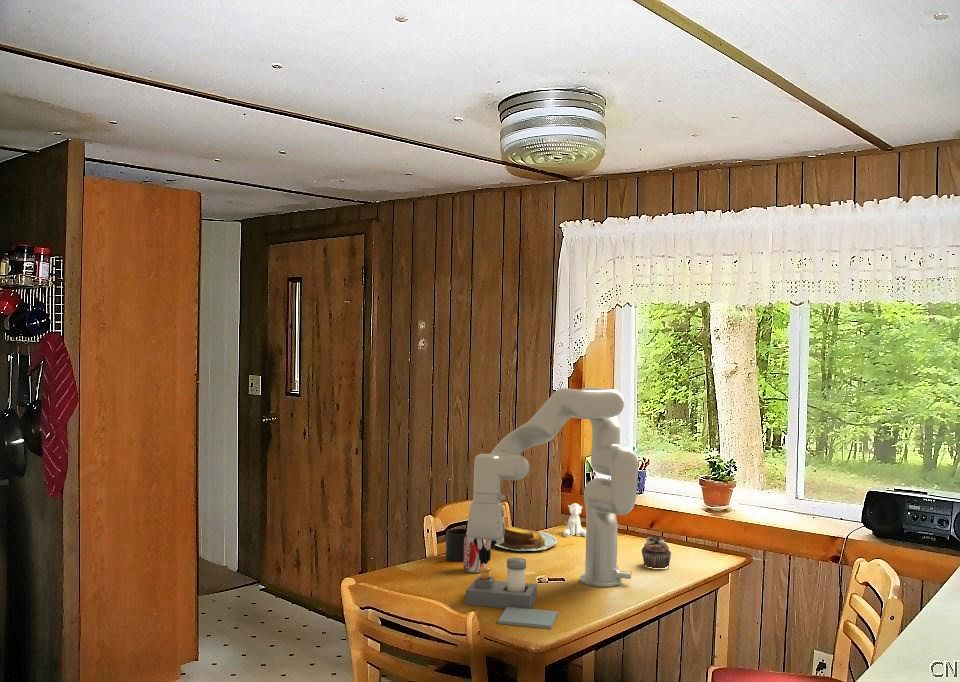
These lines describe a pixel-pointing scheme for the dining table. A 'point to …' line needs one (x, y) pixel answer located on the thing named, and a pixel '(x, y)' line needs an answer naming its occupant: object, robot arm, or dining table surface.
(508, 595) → the grey holder base
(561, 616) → the dining table surface
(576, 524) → the white creature statuette
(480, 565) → the soda can
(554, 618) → the mat
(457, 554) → the mug
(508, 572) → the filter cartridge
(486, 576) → the plunger
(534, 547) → the food on plate
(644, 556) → the cupcake
